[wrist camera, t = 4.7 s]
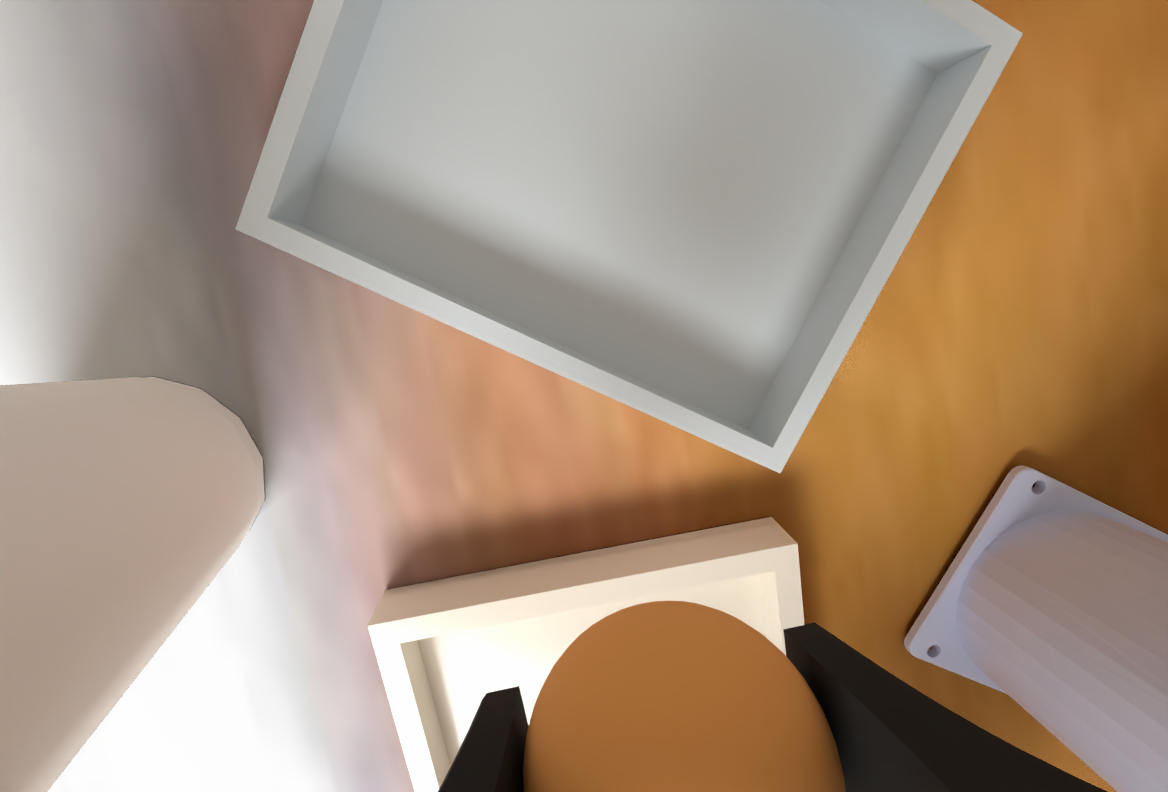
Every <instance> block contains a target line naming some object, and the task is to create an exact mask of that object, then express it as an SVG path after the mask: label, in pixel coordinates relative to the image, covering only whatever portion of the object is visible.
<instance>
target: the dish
mask: <svg viewBox="0 0 1168 792" xmlns="http://www.w3.org/2000/svg"><path fill="white" fill-rule="evenodd" d="M655 601H685V602H691V603H697V604H701V605H704V606H708V607H711V608H714V609H717V610H720V611H723V612H725V613H727V614H730V615H732V616H734V617H736V618H738V619H739V620H741V621H743V622H744V623H746V624H747V625H749V626H751V627H752V628H754V629H755V630H757V631H758V632H760V633H761V634H762V635H764V636H765V637H766V638H767V639H768V640H769V641H771V642H772V643H773V644H774V645H775V646H776V647H777V648H778V649H779V650H781V651H782V652H783V653H784V654H785V656H786V649H785V640H784V631H783V629H788V628H792V627H797V626H802V625H804V613H803V601H802V590H801V578H800V566H799V554H798V543H797V542H796V541H795V540H794V539H793V538H792V537H791V536H790V535H789V534H788V533H787V532H786V531H785V530H784V529H783V528H782V527H781V526H780V525H779V524H778V523H777V522H776V521H775V520H774V519H773V518H772V517H768V518H763V519H757V520H752V521H747V522H741V523H736V524H731V525H726V526H720V527H715V528H710V529H705V530H699V531H694V532H689V533H683V534H678V535H673V536H668V537H662V538H657V539H652V540H646V541H641V542H636V543H631V544H625V545H620V546H615V547H609V548H604V549H599V550H594V551H588V552H583V553H578V554H572V555H567V556H562V557H557V558H551V559H546V560H541V561H535V562H530V563H525V564H520V565H514V566H509V567H504V568H498V569H493V570H488V571H483V572H477V573H472V574H467V575H461V576H456V577H451V578H446V579H440V580H435V581H430V582H424V583H419V584H414V585H409V586H403V587H398V588H393V589H387V590H385V592H384V594H383V596H382V598H381V600H380V602H379V604H378V606H377V608H376V610H375V612H374V614H373V616H372V618H371V620H370V622H369V624H368V629H369V633H370V636H371V640H372V643H373V647H374V650H375V654H376V657H377V661H378V664H379V668H380V671H381V675H382V679H383V682H384V686H385V689H386V693H387V696H388V700H389V703H390V707H391V710H392V714H393V717H394V721H395V724H396V728H397V731H398V735H399V738H400V742H401V745H402V749H403V752H404V756H405V759H406V763H407V766H408V770H409V773H410V777H411V780H412V784H413V787H414V791H415V792H438V790H439V788H440V786H441V785H442V783H443V781H444V779H445V777H446V775H447V773H448V771H449V769H450V767H451V765H452V763H453V761H454V759H455V757H456V755H457V753H458V751H459V749H460V747H461V745H462V743H463V740H464V738H465V736H466V734H467V732H468V730H469V728H470V725H471V723H472V721H473V719H474V716H475V714H476V712H477V710H478V707H479V705H480V703H481V701H482V699H483V697H484V696H485V695H486V693H489V692H493V691H498V690H503V689H507V688H512V687H517V686H519V688H520V692H521V696H522V700H523V705H524V709H525V713H526V717H527V721H528V725H529V723H530V719H531V715H532V712H533V708H534V705H535V702H536V700H537V697H538V695H539V692H540V690H541V688H542V686H543V684H544V682H545V680H546V678H547V676H548V675H549V673H550V671H551V669H552V668H553V666H554V664H555V663H556V662H557V660H558V659H559V658H560V657H561V655H562V654H563V653H564V651H565V650H566V649H567V648H568V647H569V645H570V644H571V643H572V642H573V641H574V640H575V639H576V638H577V637H578V636H579V635H580V634H581V633H583V632H584V631H585V630H587V629H588V628H589V627H590V626H592V625H593V624H595V623H596V622H598V621H600V620H601V619H603V618H605V617H606V616H608V615H610V614H613V613H615V612H617V611H619V610H621V609H624V608H627V607H630V606H633V605H637V604H642V603H647V602H655Z"/></svg>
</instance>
